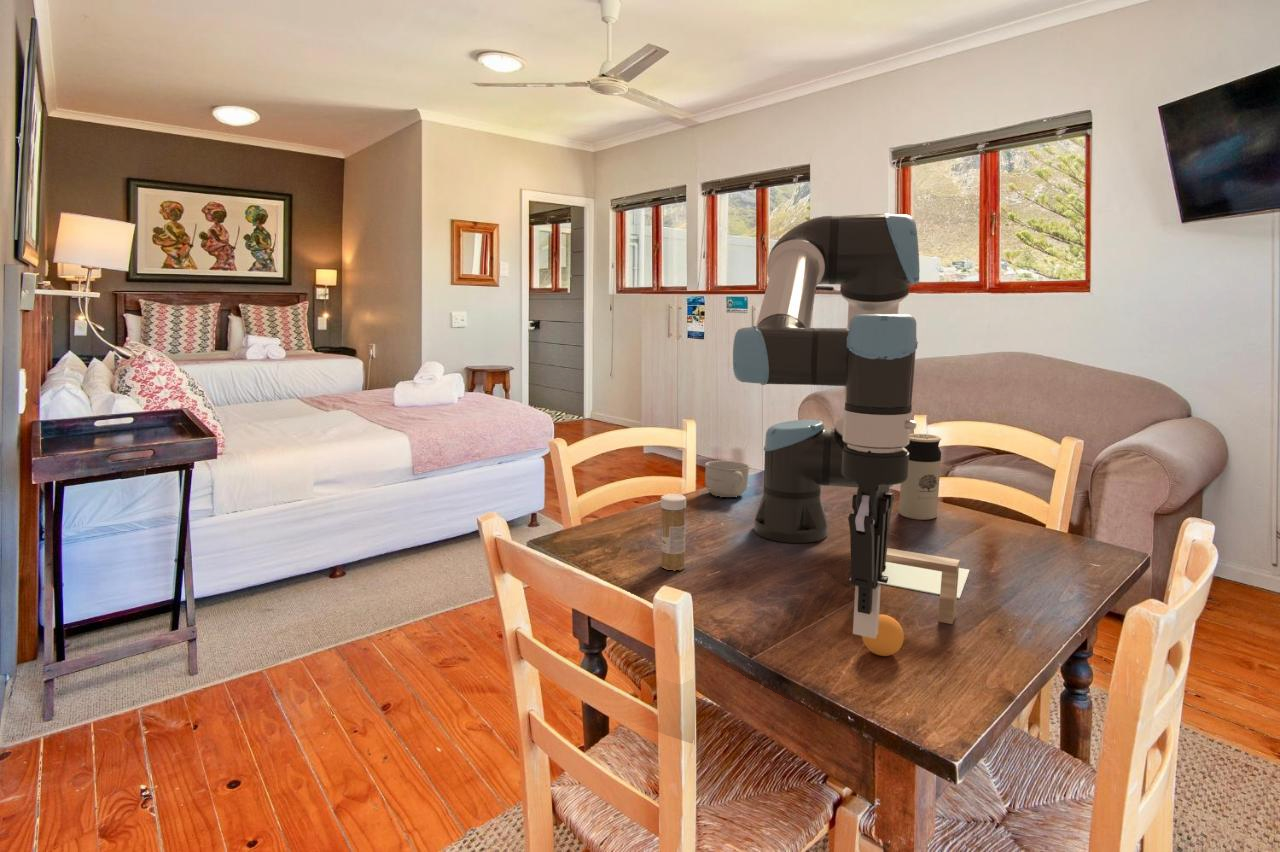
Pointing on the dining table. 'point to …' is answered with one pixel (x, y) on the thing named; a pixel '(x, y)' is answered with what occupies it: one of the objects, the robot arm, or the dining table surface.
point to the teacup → (726, 478)
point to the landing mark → (920, 578)
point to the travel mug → (921, 478)
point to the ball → (886, 637)
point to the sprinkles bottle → (673, 531)
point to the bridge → (939, 564)
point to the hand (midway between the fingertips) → (865, 633)
